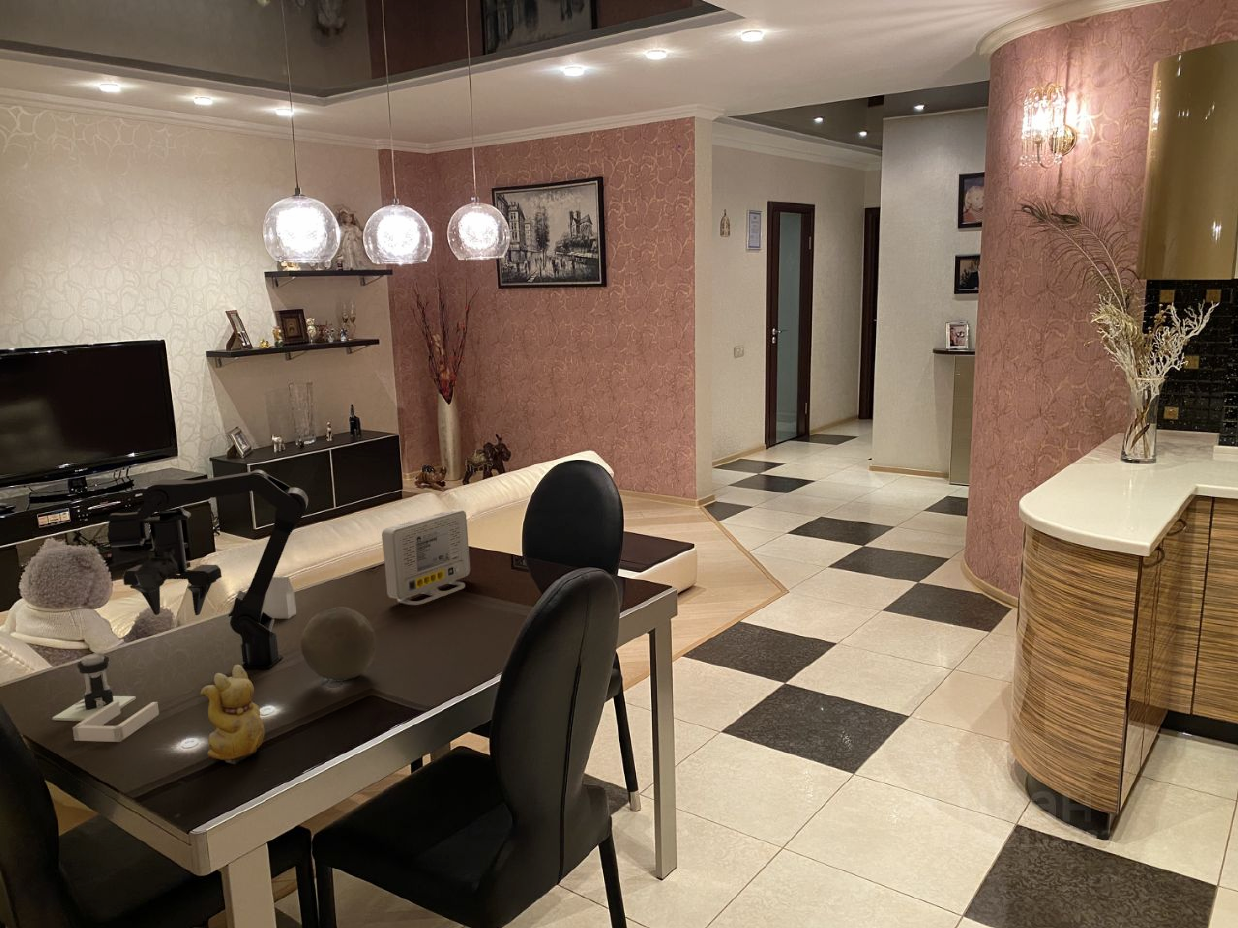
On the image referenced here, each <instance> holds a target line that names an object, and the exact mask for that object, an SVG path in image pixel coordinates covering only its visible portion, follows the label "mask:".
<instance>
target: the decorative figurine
mask: <svg viewBox="0 0 1238 928" xmlns="http://www.w3.org/2000/svg"><path fill="white" fill-rule="evenodd" d="M231 673H232V676H229V677H228V676H227V675H225V674H223V673H222V672H216V674H214V677H213V682H214V684H209V685H205V686H203V688H202V689H201V691H200V696H202V697H203V696H206V697H207V699H208V700H209V701H208V707H207V715H208V720H209V721H210V723H211V724H212V725H213V726H214V727H215V730H214V731H212V732H211V733H210V734H209V735H208V738H207V746H208V747H209V750H208V751H207V755H208V757H210V758H213V759H216V760H221V761H225V763H228V764H232V765H236V764H238V763H239V762H241V761H243V760H244V759H246V758H248V757H249V756H251V755H253V754H255V753H257V751H258V749H259V748H260V747H261V746H262V744H263V742H264V739H265V731H266V730H265V726H264V722H263V719H262V717H261V710H260V707H259V705H258V704H257V703H254V702H253V701H252V699H253V696H254V693H255V689H254V685H253V683H252V681H251V679H249V677H248V673H247V671H246V670H245V668H243V667H242V666H241V665H240V664H235V665H234V666H233V668H232V672H231Z"/></svg>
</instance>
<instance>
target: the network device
mask: <svg viewBox="0 0 1238 928" xmlns="http://www.w3.org/2000/svg"><path fill="white" fill-rule="evenodd" d="M381 539H382V551H383V560H384V563H383V564H384V571H385V572H384V573H385V574H384V575H385V580H386V581H385V583H386V595H387V596H388V597H389V598H391V599H396V600H397V602H398V603H400V604H403V605H409V606H419V605H423V604H426V603H429V602H431V601H434V600H437V599H439V598H441V597H445V596H447V595H450V594H453V593H455V592H457V591H460V590H463V589H464V588H465V587H466V583H465V582H463V581H459V580H460V579H463V578H465V577H468V576H469V574H470V573H471V560H470V548H469V534H468V520H467V513H466V512H465V510H460V509H453V508H451V509H449V510H446V511H442V512H439V513H438V512H437V513H434V514H431V515H427V516H424V517H420V518H416V519H413V520H408V521H406V522H402V523H399V524H396V525H392V526H391V525H390V526H388V527H385V528H384V529H383V530H382V532H381ZM446 584H447V585H448V584H449V585H453V586H456V587H454V588H451V589H448V590H440V589H439V588H438V587H441V586H444V585H446ZM420 594H421V595H422V594H423V595H428V596H430V597H426V598H424V599H421V600H417V601H413V600H410V599H408V598H410V597H414V596H416V595H420Z"/></svg>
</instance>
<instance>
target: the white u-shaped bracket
mask: <svg viewBox="0 0 1238 928" xmlns="http://www.w3.org/2000/svg"><path fill="white" fill-rule="evenodd" d="M158 703H159V702H158V701H152V702H150V703H149V704H147V705H145V706H144V707H143V708H141V709H139V710H138V711H137V712H136V713H134V714H132V715H131V716H130V717H128V718H126V719H125V720H124V721H122V722H121V723H118V725H105V724H107V723H109V722H110V721H111V720H113V719H114V718H116V717H118V716H119V715H121V709H120V706H119V701H113V702H112V703H110V704H109V705H107V706H105V707H104V708H102V709H101V710H99V711H98V712H96V713H94V714H93V715H91V716H90V717H88V718H87V719H85V720H83V721H79V723H77V724H76V725H74V726H73V727H72V734H73V739H74V741H75V742H76V741H77V742H78V741H79V742H111V743H112V742H113V743H115V742H116V743H121V742H122V741H123V740H125V739H126V738H128V737H129V736H131V735H132V734H134V733H135V732H137V730H139V729H140V728H142V727H143V726H145V725H146V724H148V723H150V721H152V720H153V719H155V718H156V717H157V716H159V715H160V710H159V705H158Z"/></svg>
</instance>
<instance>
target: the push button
mask: <svg viewBox="0 0 1238 928" xmlns="http://www.w3.org/2000/svg"><path fill="white" fill-rule="evenodd" d="M109 662H110V658H109V657H108V656H104V654H103V653H100V652H95V653H90V654H86V655H83V657H82V658H81V660H80V661H78V662H77V664H76V666H77V668H78V669H79V670H78V671H79V673H81V674H83V676H84V681H85V688H86V690H85V692H84V694H83V699H84V700H85V701H81V700H80V701H81V702H79V701H77V702H76V703H74V704H75V705H78V704H77V703H79V704H83V703H85V705H84V706H81V707H77V708H76V709H80V708H85V707H86V709H87V710H90V709H94V708H100V707H103V706H106V705H109V704H110V703H112V702H113V701H114V700H113V696H114V694H113V691H112V689H111V688H110V685H109V684H108V679H107V671H106V669H108V666H109ZM89 676H90V677H89Z"/></svg>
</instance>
